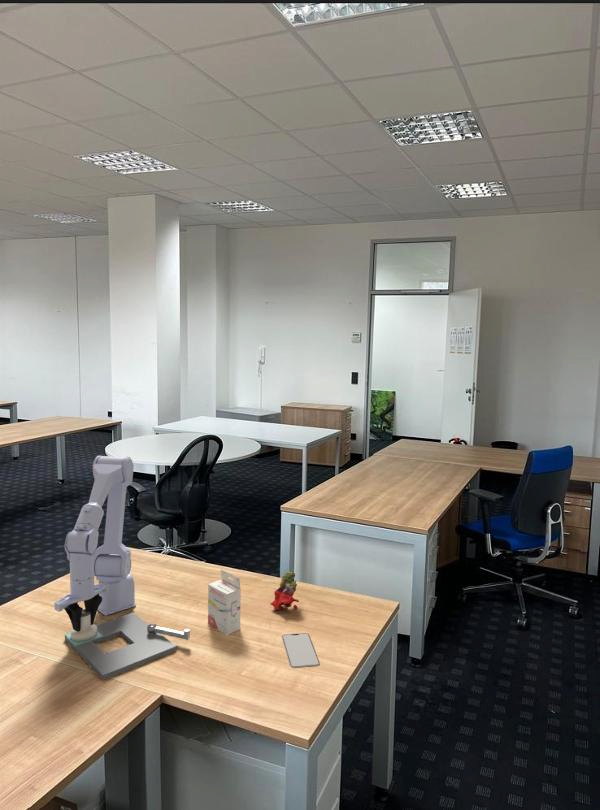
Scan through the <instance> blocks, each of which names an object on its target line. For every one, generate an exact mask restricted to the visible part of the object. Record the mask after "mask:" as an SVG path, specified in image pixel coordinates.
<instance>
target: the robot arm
mask: <svg viewBox="0 0 600 810" xmlns="http://www.w3.org/2000/svg"><path fill="white" fill-rule="evenodd" d="M93 460H94V461H93V463H92V473H93V478H94V482H93V485H92V489H91V492H90V496H89V500H88V503H86V504H83V506H82V507H81V509H80V512H79V515H78V517H77V520H76V523H75V525H74V527H73V529H72V530H71V531H69V532H68V533H67V534H66V537H65V541H64V545H63V547H64V551H65V552H66V556H67V557H66V559H67V561H69V578H70V579H69V581H70V582H69V583H70V586H69V587H70V591H69V592H68V593H67V594H66V595H65V596H63V597H62V598H60V599H59V600H56V601H54V603H53V604H54V610H55V611H57V612H59V613H60V612H62V611H63V610H64V611H65V613H66V614H67V615H68V618H69V620H70V623H71V627H72V628H73V630H75V631H77V632H78V631H80V629H81V614H82V610H83V609H88V610H90V615H91V625H93V624H95V620H96V615H97V612H98V611H99V612H100V613H101V614H102V615H103V616H108V615H109V616H110V615H112V614H116V613H118V612H121V611H124V610H128V609H130V608H134V607H136V606H137V603H136V601H135V600H136V599H135V596H136V595H135V594H136V593H135V589H136V588H135V581H134V578H133V575H132V574H131V569H132V559H131V558H132V554H131V550H130V549H129V548H128V547H126V545H125V544H124V543H123V542H122V541H123V532H124V531H123V530H124V521H125V508H126V496H127V488H128V487H129V486H131V485H132V484H133V478H134V477H133V476H134V466H135V465H134V462H133V459H132V458H131V457H130V456H111V455H110V456H107V455H97V456H96V457H95V458H94V459H93ZM106 499H107V503H106V515H105V516H106V517H105V525H104V538H103V544H101V546H98V543H99V535H100V532H99V528H100V525H101V523H102V520H103V517H104V514H105V511H104V509H103V508H102V507H103V505H104V503H105V501H106ZM97 547H98V548H97ZM95 580H96V581H98V584H95ZM81 602H83V604H84V608H83V607H82V606H80V604H79V603H81Z"/></svg>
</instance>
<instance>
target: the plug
mask: <svg viewBox="0 0 600 810" xmlns="http://www.w3.org/2000/svg"><path fill="white" fill-rule="evenodd" d="M96 625H97V624H95V623H94V624H93V625H91V615H90V610H88V609H85V608H83V610H82V614H81V629H80V631H78V632H77V631H75V630H73V627H72V628H71V629H70V632H69V633H71V639H72V640H75V641H85V640H89V639H91V638H93V637H95V636H96V635H97V626H96Z"/></svg>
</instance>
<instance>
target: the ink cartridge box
mask: <svg viewBox="0 0 600 810" xmlns="http://www.w3.org/2000/svg"><path fill="white" fill-rule="evenodd" d="M220 576H221V579H219V580H216V581H213V582H211V583H208V587H207V588H208V589H207V592H208V593H207V595H208V596H207V597H208V598H207V625H209V626H211V627H213V628H214V629H216V630H218V631H219V632H221V634H224V635H226V636H229V635H231V634H233V633H234V632H236V631H239V630H240V629H241V598H242V595H241V593H242V589H241V579H240V577H238V576H237V575H234V574H233V573H230V572H228V571H226V570H224V569H220ZM228 577H230V578H228Z"/></svg>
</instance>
